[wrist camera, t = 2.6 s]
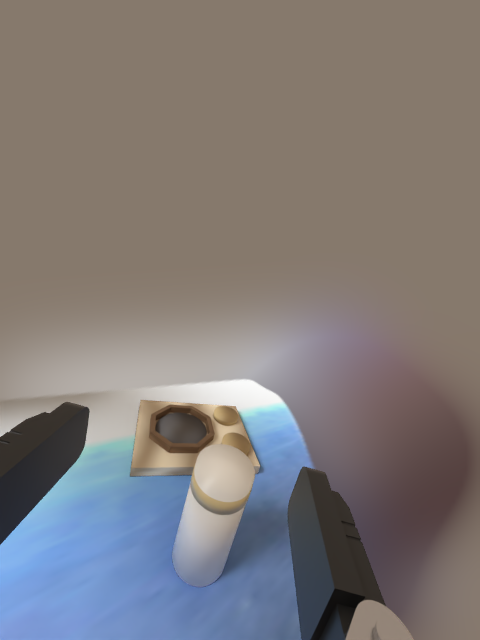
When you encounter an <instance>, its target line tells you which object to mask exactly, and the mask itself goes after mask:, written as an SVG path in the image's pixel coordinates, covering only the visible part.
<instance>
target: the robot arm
mask: <svg viewBox="0 0 480 640" xmlns="http://www.w3.org/2000/svg"><path fill="white" fill-rule="evenodd" d="M88 418H89V408H88V407H84V406H81V405H77V404H73V403H70V402H65V403H63V404H62V405H60V406H59V407H58V408H56V409H55V410H54V411H52V412H51V413H46V412H44V413H41V414H39V415H36V416H34V417H31V418H29V419H26V420H25V421H23V422H22V423H20V424H19V425H17V426H16V427H14V428H13V429H11V431H10V432H7V433H6V434H4V435H3V436H1V437H0V544H1V543H2V542H3V541H4V540H5V539H6V538H7V537H8V536H9V535H10V533H11V532H12V531H13V530H14V529H15V528H16V527H17V526H18V525H19V524H20V522H21V521H22V520H23V519H24V518H25V517H26V516H27V515H28V514H29V513H30V511H31V510H32V509H33V508H34V507H35V506H36V505H37V504H38V503H39V502H40V500H41V499H42V498H43V497H44V496H45V495H46V494H47V493H48V492H49V491H50V489H51V488H52V487H53V486H54V485H55V484H56V483H57V482H58V481H59V479H60V478H61V477H62V476H63V475H64V474H65V473H66V472H67V471H68V470H69V468H70V467H71V466H72V465H73V464H74V463H75V462H76V461H77V459H78V458H79V456H80V455H81V453H82V451H83V448H84V445H85V441H86V433H87V426H88ZM288 527H289V536H290V544H291V553H292V561H293V570H294V578H295V587H296V596H297V604H298V613H299V621H300V630H301V639H302V640H414V639H413V637H412V636H411V634H410V632H409V631H408V629H407V628H406V627H405V625H404V624H403V623H402V621H401V620H400V619H399V618H398V617H397V616H396V615H395V614H394V613H393V612H392V611H391V610H390V609H388V608H387V607H386V605H385V603H384V600H383V598H382V595H381V592H380V590H379V587H378V584H377V582H376V579H375V576H374V573H373V571H372V568H371V565H370V563H369V560H368V557H367V555H366V552H365V549H364V547H363V544H362V542H361V541H360V539H361V538H360V536H359V533H358V530H357V528H355V522H354V520H353V517H352V514H351V512H350V509H349V507H348V506H347V504H346V503H345V501H344V500H343V499H342V497H341V496H340V494H339V493H338V492H334V491H331V488H330V485H329V482H328V479H327V476H326V474H325V472H322V471H318V470H315V469H311V468H307V467H302V469H301V471H300V473H299V476H298V479H297V481H296V484H295V487H294V489H293V492H292V495H291V497H290V500H289V505H288Z"/></svg>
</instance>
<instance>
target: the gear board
mask: <svg viewBox="0 0 480 640" xmlns="http://www.w3.org/2000/svg"><path fill="white" fill-rule="evenodd" d="M215 444H225V445H229V446H232V447H235V448H237V449H239V450H240V451H242V452H243V453H244V454H245V455H246V456H247V457H248V458H249V459H250V460H251V462H252V464H253V466H254V470H255V473H258V471H259V468H260V464H259V462H258V460H257V457H256V455H255V452H254V450H253V447H252V445H251V443H250V440H249V438H248V435H247V433H246V430H245V428H244V426H243V423H242V421H241V418H240V416H239V414H238V411H237V409H236V406H222V405H207V404H193V403H178V402H163V401H148V400H141V402H140V407H139V414H138V421H137V428H136V435H135V442H134V449H133V457H132V464H131V471H130V476H167V475H192V473H193V469H194V466H195V463H196V460H197V457H198V455H199V453H200V452H201V451H202V450H203V449H204V448H206V447H208V446H210V445H215Z"/></svg>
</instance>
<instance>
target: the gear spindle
mask: <svg viewBox="0 0 480 640" xmlns="http://www.w3.org/2000/svg"><path fill="white" fill-rule="evenodd" d="M254 478H255V470H254V466H253V464H252V462H251V460H250V459H249V458H248V457H247V456H246V455H245V454H244V453H243V452H242V451H240V450H239V449H237V448H235V447H232V446H229V445H225V444H215V445H210V446H208V447H206V448H204V449H203V450H202V451H201V452H200V453H199V455H198V457H197V460H196V463H195V466H194V469H193V473H192V477H191V482H190V487H189V490H188V494H187V498H186V501H185V505H184V509H183V513H182V516H181V520H180V524H179V527H178V531H177V535H176V539H175V542H174V546H173V551H172V561H173V566H174V569H175V571H176V573H177V574H178V576H179V577H180V578H181V580H183V581H184V582H185V583H187V584H188V585H191V586H194V587H205V586H208V585H210V584H212V583H214V582H215V581H216V580H217V579H218V578H219V577H220V575H221V574H222V572H223V569H224V566H225V564H226V561H227V558H228V555H229V552H230V549H231V546H232V543H233V540H234V537H235V534H236V531H237V528H238V525H239V523H240V520H241V517H242V514H243V511H244V508H245V505H246V503H247V501H248V498H249V495H250V492H251V489H252V486H253V482H254Z"/></svg>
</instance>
